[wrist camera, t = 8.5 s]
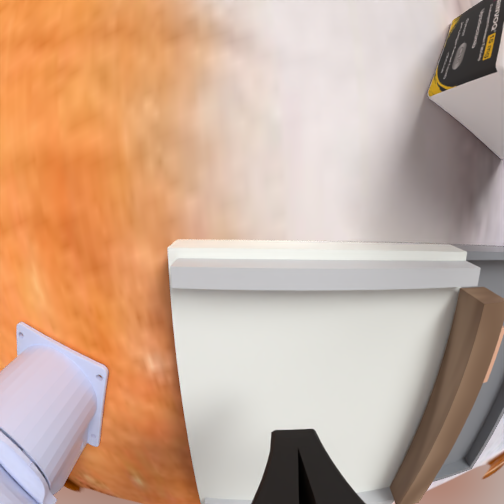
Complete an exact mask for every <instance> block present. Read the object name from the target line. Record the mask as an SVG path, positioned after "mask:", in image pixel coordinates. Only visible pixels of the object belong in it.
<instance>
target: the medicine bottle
mask: <svg viewBox="0 0 504 504" xmlns="http://www.w3.org/2000/svg"><path fill="white" fill-rule="evenodd" d="M427 95H428V97H429V98H430V99H431V100H432V101H433V102H435V103H436V104H437V105H439V106H440V107H441V108H443V109H444V110H445V111H446V112H448V113H449V114H450V115H451V116H453V117H454V118H455V119H456V120H458V121H459V122H460V123H461V124H462V125H464V126H465V127H466V128H467V129H468V130H469V131H471V132H472V133H473V134H474V135H475V136H476V137H477V138H479V139H480V140H481V141H482V142H483V143H484V144H485V145H486V146H487V147H488V148H490V149H491V150H492V151H493V152H494V153H495V154H496V155H497V156H498V157H499V158H500V159H502V160H504V0H482V1H481V2H479V3H478V4H476V5H475V6H473V7H472V8H470V9H469V10H467V11H466V12H464V13H463V14H461V15H460V16H459V17H457V18H456V19H454V20H453V21H452V24H451V27H450V30H449V33H448V36H447V39H446V42H445V45H444V48H443V51H442V54H441V57H440V60H439V63H438V66H437V68H436V71H435V74H434V77H433V79H432V82H431V85H430V87H429V90H428V94H427Z"/></svg>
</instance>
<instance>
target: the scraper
mask: <svg viewBox="0 0 504 504" xmlns="http://www.w3.org/2000/svg"><path fill="white" fill-rule="evenodd" d="M503 322H504V298H502V297H500V296H499V295H497V294H495V293H494V292H492V291H490V290H489V289H487V288H485V287H471V288H460V290H459V295H458V300H457V305H456V309H455V314H454V318H453V322H452V326H451V330H450V334H449V338H448V341H447V345H446V349H445V352H444V356H443V359H442V362H441V365H440V369H439V372H438V375H437V378H436V381H435V384H434V387H433V390H432V392H431V395H430V398H429V401H428V403H427V406H426V409H425V411H424V414H423V416H422V419H421V421H420V424H419V426H418V429H417V431H416V433H415V436H414V438H413V440H412V442H411V445H410V447H409V449H408V451H407V453H406V455H405V457H404V460H403V462H402V464H401V466H400V468H399V470H398V472H397V474H396V476H395V477H394V479H393V481H392V483H391V485H390V490H391V492H392V495H393V498H394V501H395V504H415V503H418V502H419V501H420V500H421V498H422V497H423V495H424V494H425V492H426V491H427V489H428V488H429V486H430V485H431V483H432V482H433V480H434V478H435V477H436V475H437V474H438V472H439V470H440V469H441V467H442V465H443V464H444V462H445V460H446V458H447V457H448V455H449V453H450V451H451V450H452V448H453V446H454V444H455V442H456V440H457V438H458V437H459V435H460V433H461V431H462V429H463V427H464V425H465V423H466V420H467V418H468V416H469V414H470V412H471V410H472V408H473V405H474V403H475V401H476V399H477V396H478V394H479V391H480V389H481V387H482V384H483V382H484V379H485V376H486V374H487V371H488V369H489V366H490V363H491V360H492V357H493V354H494V351H495V348H496V345H497V342H498V339H499V336H500V333H501V329H502V326H503Z"/></svg>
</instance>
